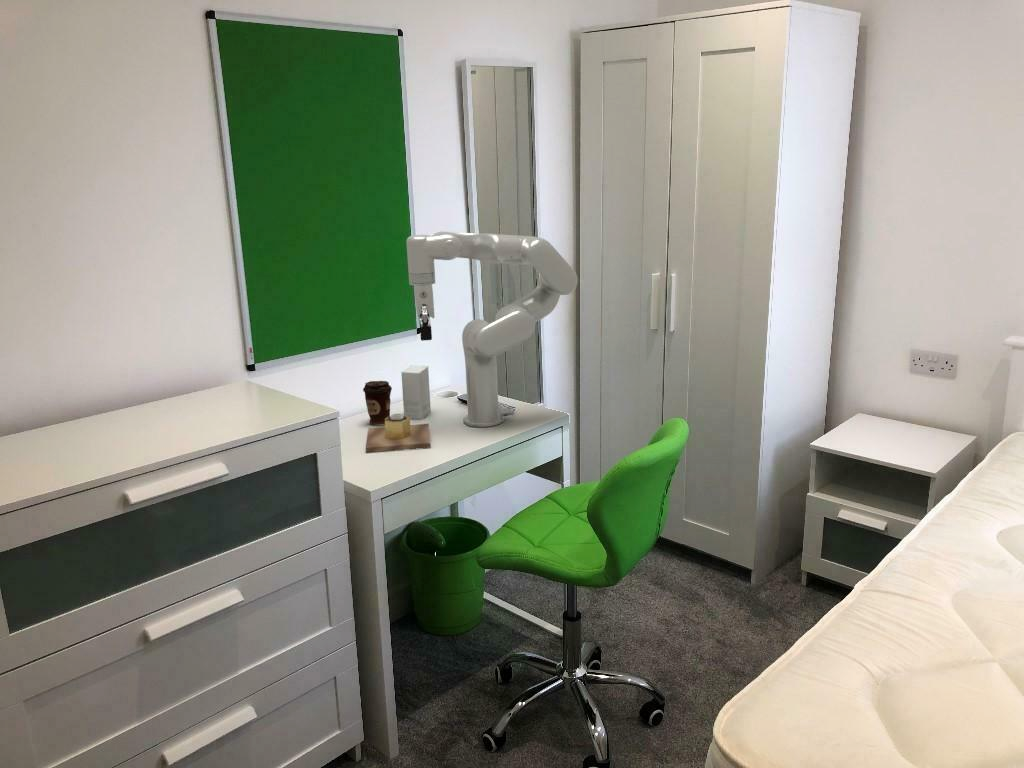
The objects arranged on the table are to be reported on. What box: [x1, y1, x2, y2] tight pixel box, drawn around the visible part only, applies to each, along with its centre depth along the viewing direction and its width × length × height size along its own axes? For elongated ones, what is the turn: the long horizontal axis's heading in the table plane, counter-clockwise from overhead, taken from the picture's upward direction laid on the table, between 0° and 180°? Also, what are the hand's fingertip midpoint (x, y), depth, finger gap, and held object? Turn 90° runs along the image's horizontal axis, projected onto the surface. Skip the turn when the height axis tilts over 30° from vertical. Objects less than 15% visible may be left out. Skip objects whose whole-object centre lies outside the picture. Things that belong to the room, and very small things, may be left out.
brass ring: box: [384, 414, 411, 439], centre depth 241 cm, size 7×7×5 cm
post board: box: [365, 413, 431, 454], centre depth 241 cm, size 18×18×8 cm
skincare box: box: [400, 364, 432, 420], centre depth 263 cm, size 8×7×16 cm
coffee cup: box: [362, 380, 393, 426], centre depth 257 cm, size 9×8×13 cm
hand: (426, 336), depth 245 cm, fingers open, 9 cm apart
